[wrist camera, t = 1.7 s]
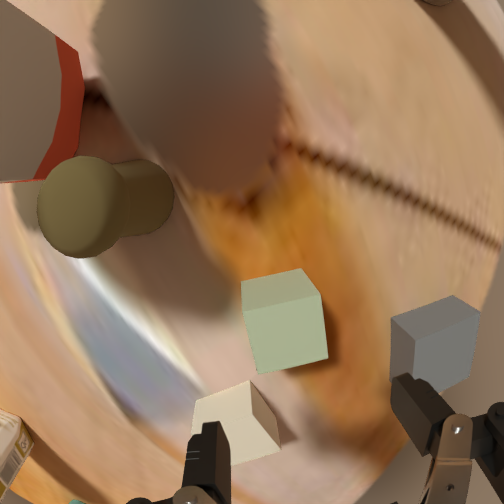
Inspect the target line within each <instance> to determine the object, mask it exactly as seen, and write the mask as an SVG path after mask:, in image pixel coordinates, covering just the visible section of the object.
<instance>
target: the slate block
mask: <svg viewBox="0 0 504 504" xmlns="http://www.w3.org/2000/svg"><path fill="white" fill-rule="evenodd" d="M479 319H480V311H478V310H477V309H475V308H473V307H472V306H470V305H468V304H467V303H465V302H463V301H462V300H460V299H458V298H457V297H455V296H453V295H452V296H449V297H447V298H444V299H441V300H439V301H436V302H434V303H431V304H428V305H425V306H423V307H420V308H417V309H414V310H411V311H408V312H406V313H403V314H400V315H397V316H394V317H391V356H390V379H389V380H390V382H391V383H392V379H393V377H396V376H399V375H401V374H404V373H406V372H408V373H410V375H411V376H412V377H413V378H414V379H415V380H416V379H418V378H421V379H423V380H425V381H427V382H429V384H430V385H431V386H432V387H433V388H434V390H436V391H437V393H439V392H441V391H443V390H445V389H447V388H449V387H451V386H453V385H455V384H457V383H459V382H460V381H462V380H464V379H466V378H468V377H469V374H470V370H471V365H472V360H473V355H474V350H475V345H476V339H477V333H478V326H479Z"/></svg>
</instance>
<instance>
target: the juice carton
mask: <svg viewBox="0 0 504 504" xmlns="http://www.w3.org/2000/svg"><path fill="white" fill-rule="evenodd" d="M33 445H34V442H33V440H32V438H31V437H30V435H29V433H28V431H27V429H26V427H25V426H24V424H23V422H22V420H21V418H20V417H18V416H16V415H14V414H11V413H8V412H6V411H4V410H2V409H0V503H1V502H2V500H3V498H4V496H5V494H6V493H7V491H8V489H9V487H10V486H11V484H12V482H13V480H14V479H15V477H16V475H17V473H18V472H19V470H20V468H21V467H22V465H23V463H24V462H25V460H26V458H27V457H28V455H29V453H30V452H31V450H32V447H33Z"/></svg>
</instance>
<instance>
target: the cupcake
mask: <svg viewBox="0 0 504 504" xmlns="http://www.w3.org/2000/svg"><path fill="white" fill-rule="evenodd" d="M69 504H85V503H83V502H81V501H78V500H72V501H71V502H70V503H69Z"/></svg>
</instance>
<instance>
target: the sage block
mask: <svg viewBox="0 0 504 504" xmlns="http://www.w3.org/2000/svg"><path fill="white" fill-rule="evenodd" d="M241 296H242V313H243V317H244V321H245V325H246V329H247V333H248V337H249V341H250V345H251V348H252V352H253V356H254V360H255V364H256V368H257V372H258V374H263V373H268V372H273V371H278V370H282V369H287V368H291V367H295V366H299V365H304V364H308V363H312V362H315V361H319V360H323V359H327V358H328V351H327V342H326V333H325V325H324V317H323V309H322V302H321V294H320V293H319V291H318V290H317V289H316V287H315V286H314V285H313V283H312V282H311V281H310V279H309V278H308V277H307V275H306V274H305V273H304V271H303V270H302V269H301V268H300V269H295V270H291V271H287V272H282V273H278V274H273V275H269V276H264V277H259V278H255V279H250V280H246V281H241Z"/></svg>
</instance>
